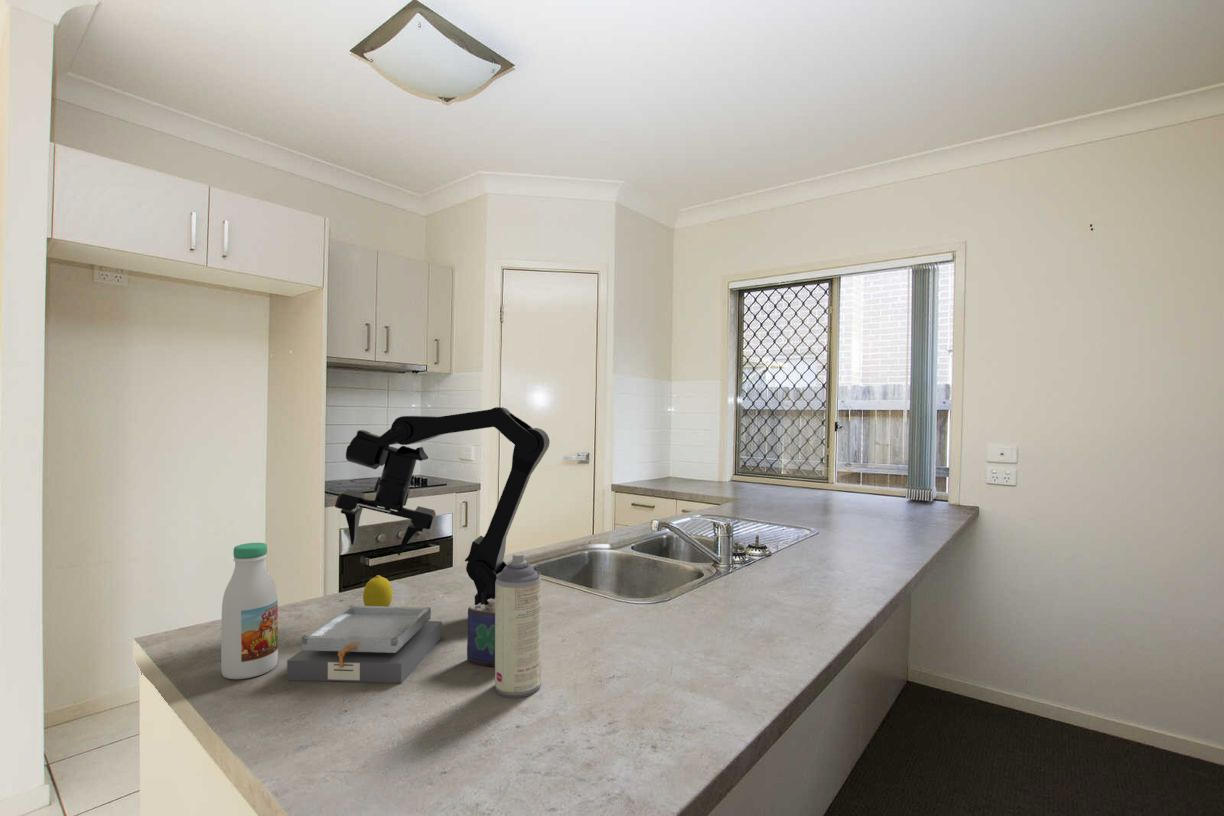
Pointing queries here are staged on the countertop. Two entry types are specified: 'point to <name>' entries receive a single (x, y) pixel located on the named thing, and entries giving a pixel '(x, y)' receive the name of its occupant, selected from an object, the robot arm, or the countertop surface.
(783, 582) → the countertop surface
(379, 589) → the lemon
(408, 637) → the scale pan
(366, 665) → the base
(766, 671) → the countertop surface
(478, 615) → the flask
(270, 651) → the milk bottle
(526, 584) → the aerosol can
